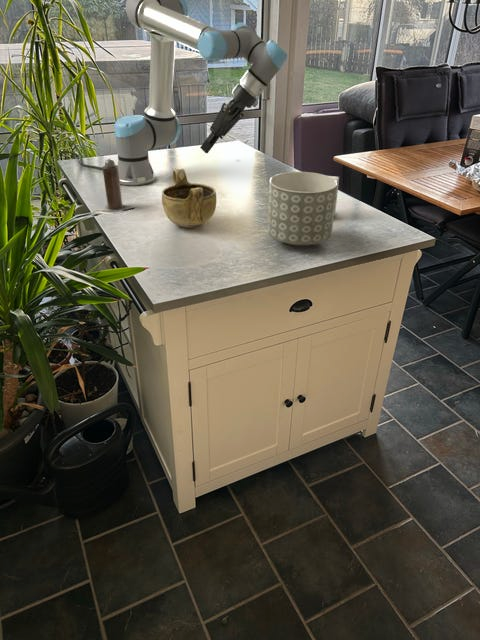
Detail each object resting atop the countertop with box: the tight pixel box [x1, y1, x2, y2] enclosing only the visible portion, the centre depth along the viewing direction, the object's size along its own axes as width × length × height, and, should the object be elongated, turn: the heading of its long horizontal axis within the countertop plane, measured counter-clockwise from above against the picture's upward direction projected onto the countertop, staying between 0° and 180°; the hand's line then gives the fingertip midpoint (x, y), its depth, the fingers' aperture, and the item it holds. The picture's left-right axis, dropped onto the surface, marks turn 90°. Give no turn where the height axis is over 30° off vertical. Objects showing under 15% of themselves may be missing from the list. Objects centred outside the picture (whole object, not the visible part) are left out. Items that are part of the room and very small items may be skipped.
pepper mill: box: [101, 158, 124, 211], centre depth 170 cm, size 5×5×16 cm
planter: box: [267, 171, 337, 248], centre depth 147 cm, size 19×19×18 cm
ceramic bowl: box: [161, 168, 217, 228], centre depth 158 cm, size 22×17×15 cm
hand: (203, 150), depth 168 cm, fingers closed
